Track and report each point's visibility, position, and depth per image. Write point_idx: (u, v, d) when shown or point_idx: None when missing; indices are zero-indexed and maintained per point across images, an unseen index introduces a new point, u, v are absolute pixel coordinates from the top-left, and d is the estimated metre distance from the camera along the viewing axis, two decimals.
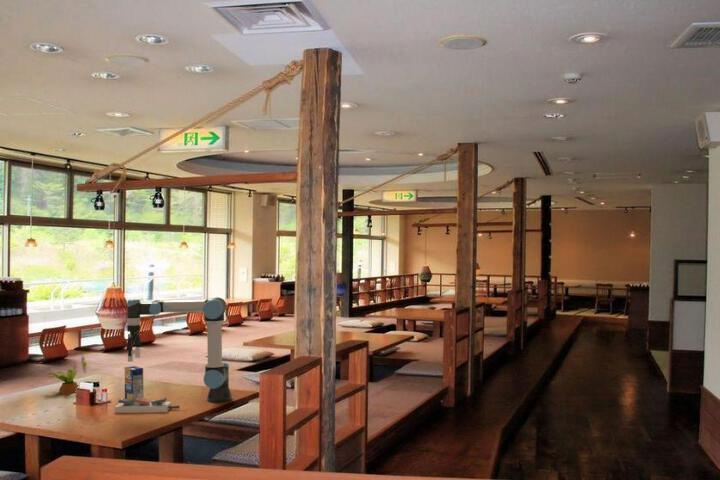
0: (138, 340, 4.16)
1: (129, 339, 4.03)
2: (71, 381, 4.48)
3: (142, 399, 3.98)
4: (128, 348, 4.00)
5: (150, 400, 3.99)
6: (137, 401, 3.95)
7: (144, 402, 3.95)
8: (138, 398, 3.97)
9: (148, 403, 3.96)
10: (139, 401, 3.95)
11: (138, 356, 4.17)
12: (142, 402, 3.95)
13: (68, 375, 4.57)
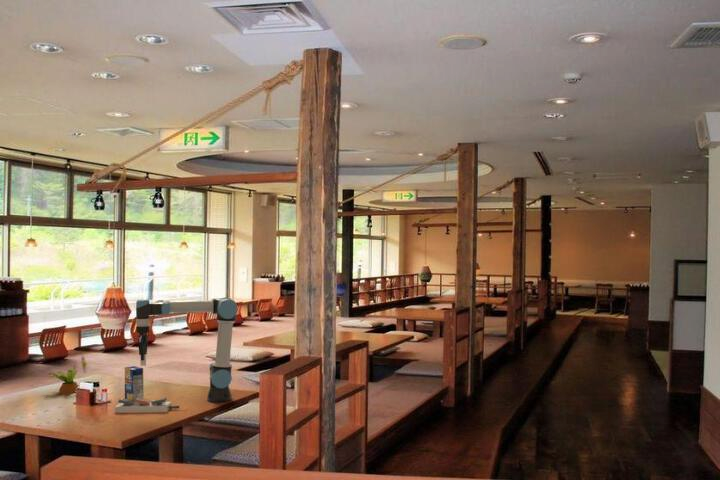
0: (145, 345, 4.01)
1: (140, 344, 3.94)
2: (71, 381, 4.48)
3: (142, 399, 3.98)
4: (141, 352, 3.95)
5: (150, 400, 3.99)
6: (137, 401, 3.95)
7: (144, 402, 3.95)
8: (138, 398, 3.97)
9: (148, 403, 3.96)
10: (139, 401, 3.95)
11: None
12: (142, 402, 3.95)
13: (68, 375, 4.57)
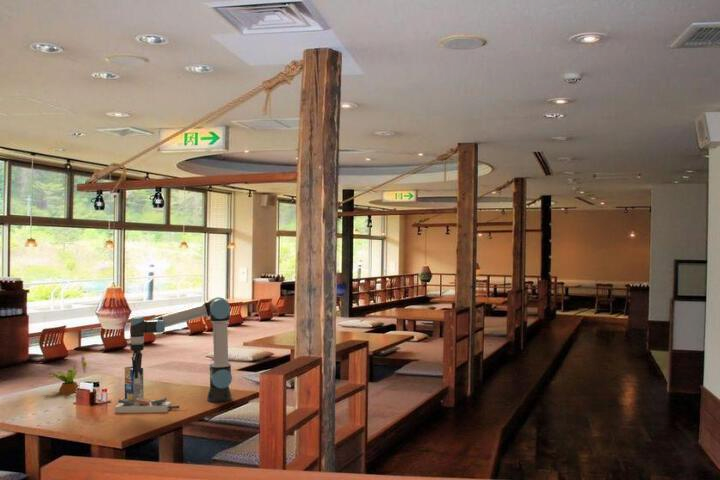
0: (139, 363, 3.99)
1: (133, 362, 3.92)
2: (71, 381, 4.48)
3: (142, 399, 3.98)
4: (135, 370, 3.94)
5: (150, 400, 3.99)
6: (137, 401, 3.95)
7: (144, 402, 3.95)
8: (138, 398, 3.97)
9: (148, 403, 3.96)
10: (139, 401, 3.95)
11: None
12: (142, 402, 3.95)
13: (68, 375, 4.57)
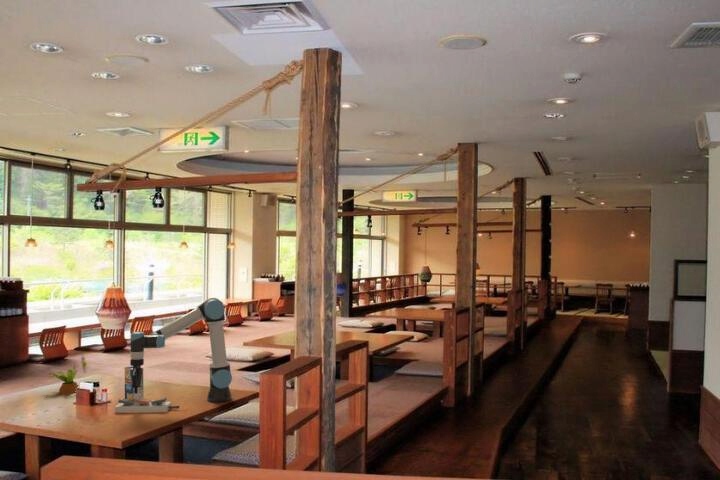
0: (139, 378, 3.99)
1: (133, 377, 3.92)
2: (71, 381, 4.48)
3: (142, 399, 3.98)
4: (134, 385, 3.94)
5: (150, 400, 3.99)
6: (137, 401, 3.95)
7: (144, 402, 3.95)
8: None
9: (148, 403, 3.96)
10: (139, 401, 3.95)
11: None
12: (142, 402, 3.95)
13: (68, 375, 4.57)
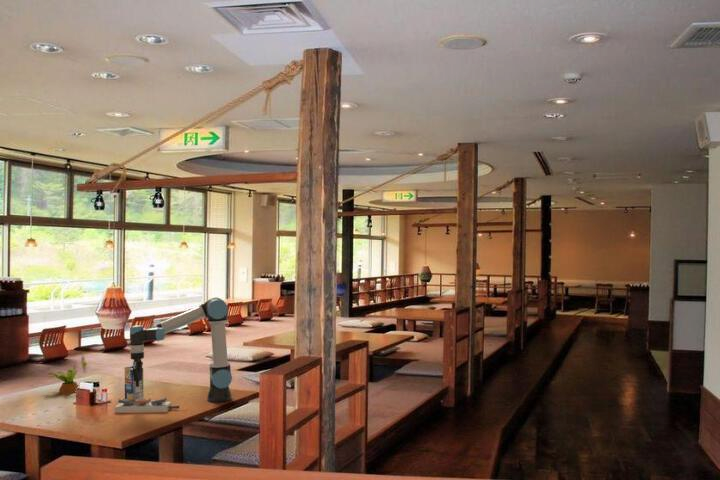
0: (140, 371, 3.99)
1: (134, 371, 3.92)
2: (71, 381, 4.48)
3: (142, 399, 3.98)
4: (135, 379, 3.94)
5: None
6: (137, 402, 3.95)
7: (144, 401, 3.95)
8: None
9: (148, 401, 3.96)
10: (139, 402, 3.95)
11: None
12: (142, 402, 3.95)
13: (68, 375, 4.57)
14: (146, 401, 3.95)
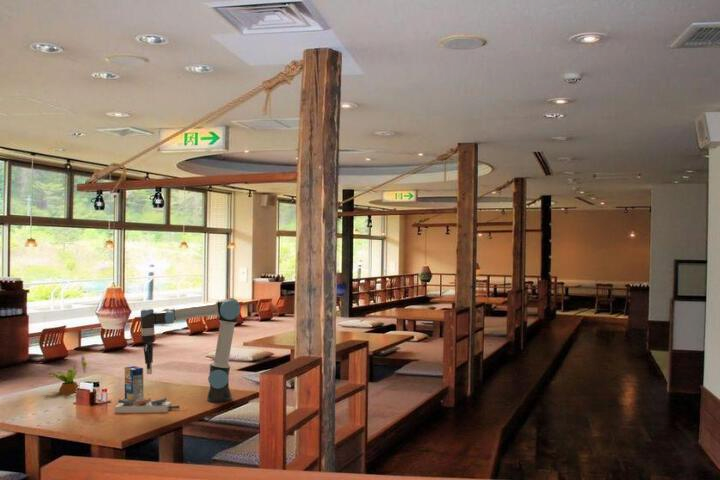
0: (151, 354, 4.06)
1: (145, 353, 3.99)
2: (71, 381, 4.48)
3: (142, 399, 3.98)
4: (147, 361, 4.01)
5: None
6: (137, 402, 3.95)
7: (144, 401, 3.95)
8: (137, 400, 3.97)
9: (148, 401, 3.96)
10: (139, 402, 3.95)
11: None
12: (142, 402, 3.95)
13: (68, 375, 4.57)
14: (146, 401, 3.95)
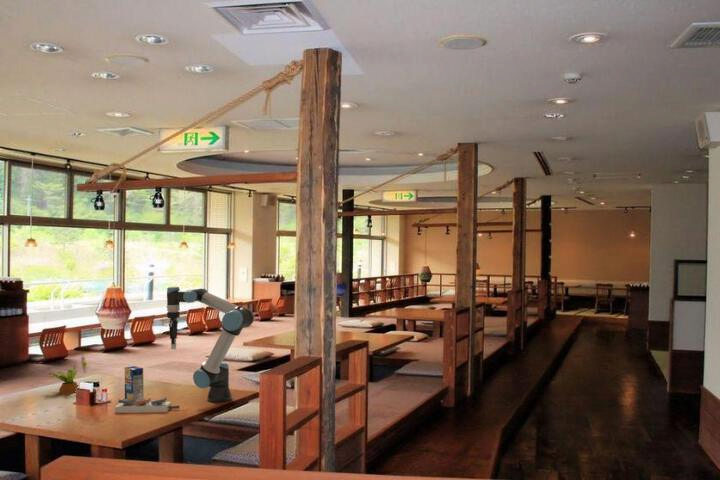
0: (176, 330, 4.24)
1: (171, 328, 4.17)
2: (71, 381, 4.48)
3: (142, 399, 3.98)
4: (172, 336, 4.18)
5: None
6: (137, 403, 3.95)
7: (144, 401, 3.95)
8: (137, 400, 3.97)
9: (148, 401, 3.96)
10: (139, 402, 3.95)
11: None
12: (142, 402, 3.95)
13: (68, 375, 4.57)
14: (146, 401, 3.95)
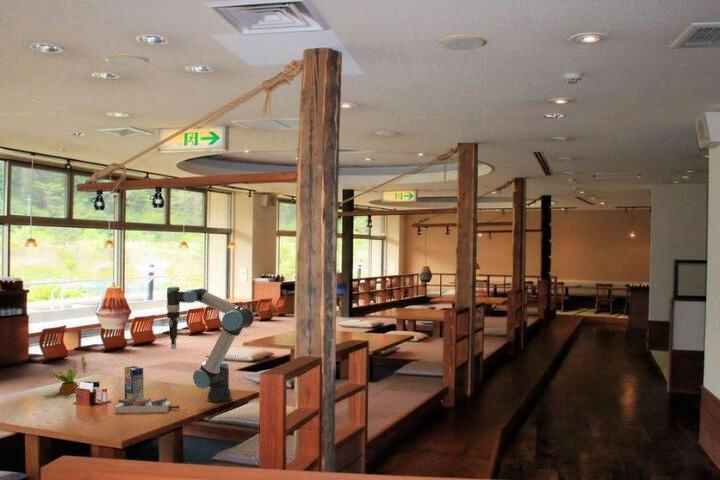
0: (176, 330, 4.24)
1: (171, 328, 4.17)
2: (71, 381, 4.48)
3: (141, 399, 3.98)
4: (172, 336, 4.19)
5: None
6: (137, 403, 3.95)
7: (144, 401, 3.95)
8: (137, 400, 3.97)
9: (148, 400, 3.96)
10: (139, 402, 3.95)
11: None
12: (142, 402, 3.95)
13: (68, 375, 4.57)
14: (146, 401, 3.95)
